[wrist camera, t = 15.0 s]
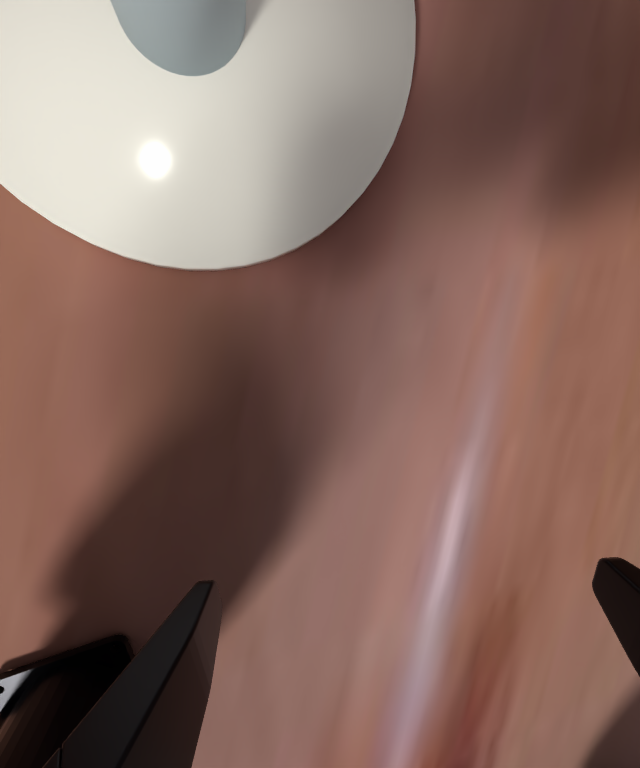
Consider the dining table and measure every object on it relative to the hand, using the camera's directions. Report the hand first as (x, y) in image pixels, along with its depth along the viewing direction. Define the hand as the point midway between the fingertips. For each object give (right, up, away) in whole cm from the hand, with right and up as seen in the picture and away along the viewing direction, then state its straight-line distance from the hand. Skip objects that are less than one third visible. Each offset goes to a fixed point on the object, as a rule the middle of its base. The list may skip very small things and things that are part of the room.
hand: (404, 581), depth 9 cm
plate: (-8, +20, +7) cm, 22 cm away
